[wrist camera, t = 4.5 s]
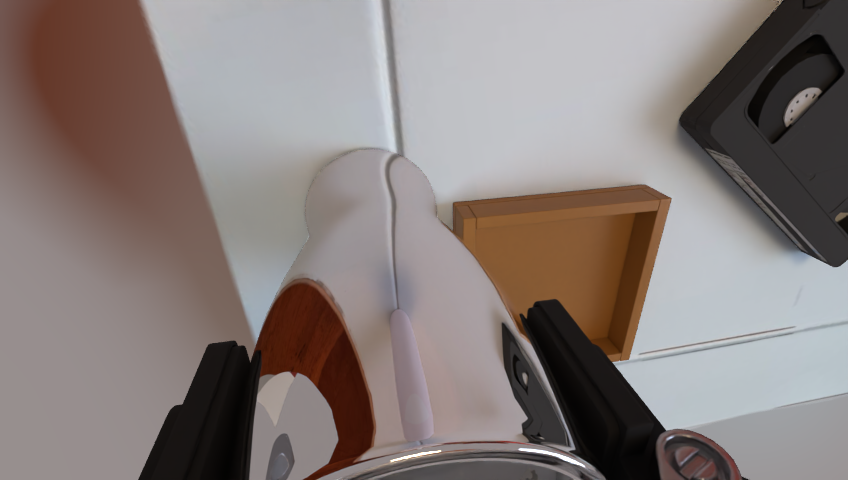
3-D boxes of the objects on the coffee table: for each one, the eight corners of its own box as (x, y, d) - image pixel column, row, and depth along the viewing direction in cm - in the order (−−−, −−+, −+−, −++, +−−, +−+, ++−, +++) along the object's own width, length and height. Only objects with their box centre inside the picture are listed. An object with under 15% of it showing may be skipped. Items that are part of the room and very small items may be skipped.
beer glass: (378, 103, 17) (486, 343, 4) (472, 215, 21) (697, 548, 8) (261, 207, 19) (68, 644, 6) (367, 298, 22) (403, 712, 9)
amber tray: (452, 360, 25) (460, 386, 23) (452, 202, 20) (463, 218, 18) (610, 337, 26) (629, 359, 25) (645, 184, 22) (672, 198, 20)
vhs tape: (676, 120, 20) (707, 130, 18) (814, -34, 18) (865, -40, 16) (803, 253, 26) (836, 270, 24) (921, 148, 24) (967, 158, 22)
